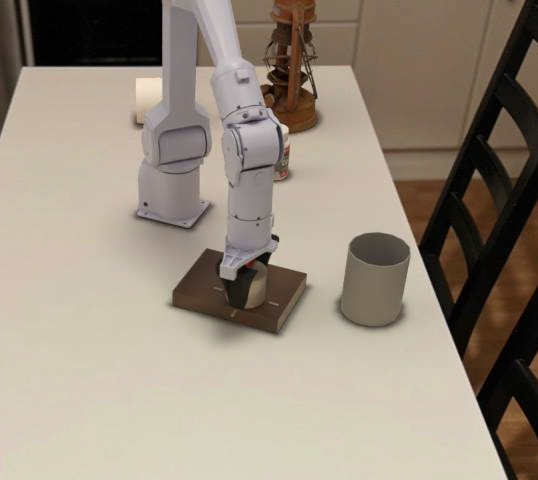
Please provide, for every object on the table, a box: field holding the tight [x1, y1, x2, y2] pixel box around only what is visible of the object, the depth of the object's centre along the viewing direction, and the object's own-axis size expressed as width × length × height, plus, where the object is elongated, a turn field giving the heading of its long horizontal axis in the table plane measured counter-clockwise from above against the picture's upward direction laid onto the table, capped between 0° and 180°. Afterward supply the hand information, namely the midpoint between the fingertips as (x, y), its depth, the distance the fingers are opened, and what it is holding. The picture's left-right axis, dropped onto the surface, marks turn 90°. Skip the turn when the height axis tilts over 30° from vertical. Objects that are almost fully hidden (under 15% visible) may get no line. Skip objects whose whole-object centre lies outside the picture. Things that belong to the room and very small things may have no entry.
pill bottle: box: [274, 124, 291, 181], centre depth 155 cm, size 5×5×8 cm
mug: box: [135, 77, 162, 124], centre depth 171 cm, size 12×10×8 cm
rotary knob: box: [226, 258, 267, 309], centre depth 127 cm, size 6×6×5 cm
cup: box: [340, 231, 412, 327], centre depth 127 cm, size 8×8×10 cm
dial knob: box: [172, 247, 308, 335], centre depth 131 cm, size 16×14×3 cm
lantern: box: [259, 0, 319, 134], centre depth 163 cm, size 17×13×30 cm
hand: (245, 294), depth 128 cm, fingers closed on rotary knob, 5 cm apart
